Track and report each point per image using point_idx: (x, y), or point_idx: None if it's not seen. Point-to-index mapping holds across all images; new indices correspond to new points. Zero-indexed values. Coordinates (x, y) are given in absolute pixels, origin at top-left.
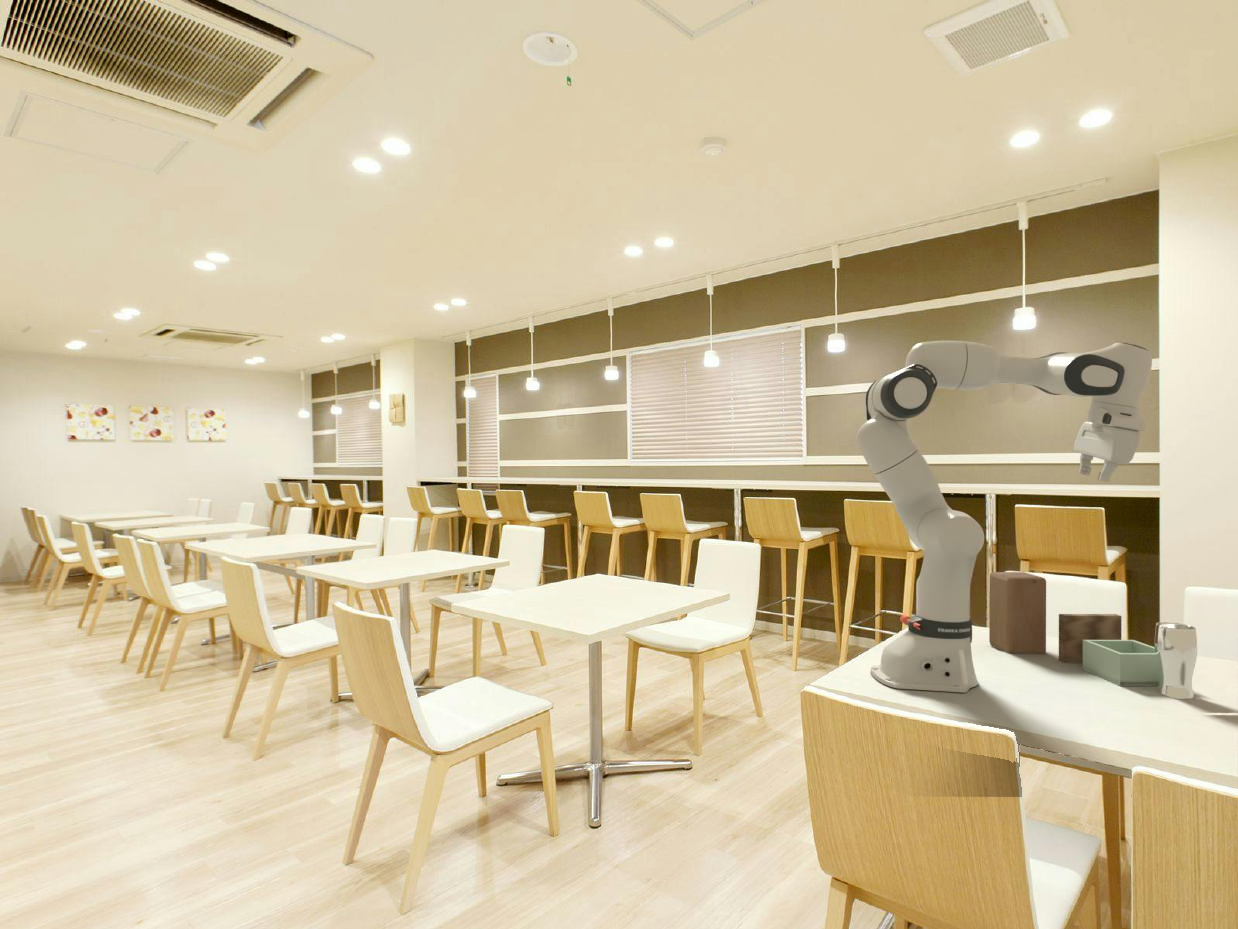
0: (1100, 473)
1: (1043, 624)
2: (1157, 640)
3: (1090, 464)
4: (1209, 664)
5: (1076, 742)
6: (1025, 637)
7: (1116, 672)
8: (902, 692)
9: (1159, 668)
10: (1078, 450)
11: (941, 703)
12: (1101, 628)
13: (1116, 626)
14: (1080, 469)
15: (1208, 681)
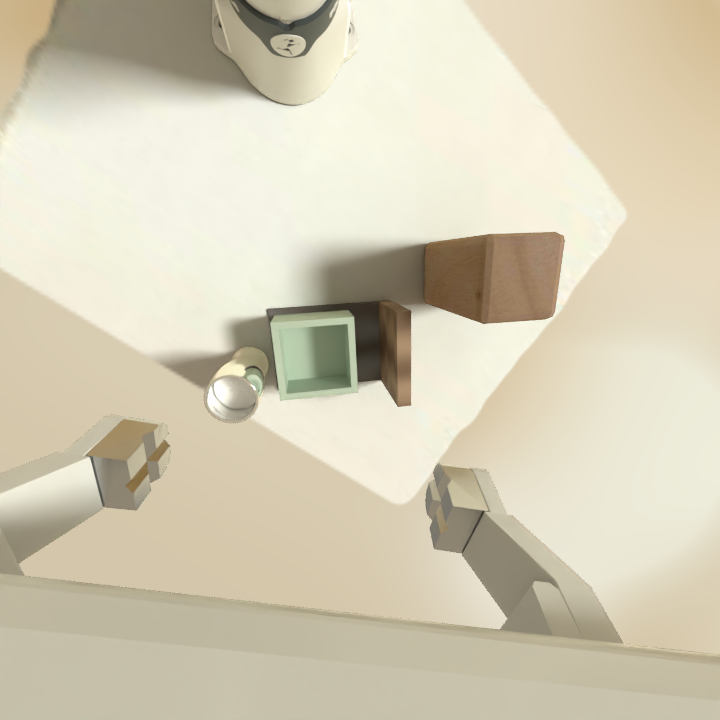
0: (100, 449)
1: (440, 303)
2: (237, 365)
3: (484, 584)
4: (387, 481)
5: (15, 103)
6: (432, 270)
7: (280, 317)
8: None
9: (247, 357)
10: (686, 675)
11: None
12: (392, 369)
13: (393, 392)
14: (480, 486)
15: (318, 439)
